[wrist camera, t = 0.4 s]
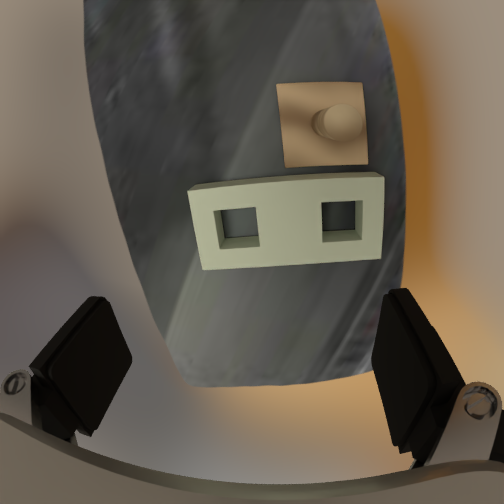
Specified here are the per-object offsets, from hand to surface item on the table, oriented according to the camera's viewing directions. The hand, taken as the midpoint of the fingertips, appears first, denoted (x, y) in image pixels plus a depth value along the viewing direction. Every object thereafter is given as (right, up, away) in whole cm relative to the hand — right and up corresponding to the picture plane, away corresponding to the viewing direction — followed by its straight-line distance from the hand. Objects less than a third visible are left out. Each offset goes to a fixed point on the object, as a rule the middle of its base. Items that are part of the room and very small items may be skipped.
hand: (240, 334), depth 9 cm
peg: (+9, +17, +21) cm, 28 cm away
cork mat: (+9, +17, +21) cm, 29 cm away
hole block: (+5, +7, +26) cm, 28 cm away
